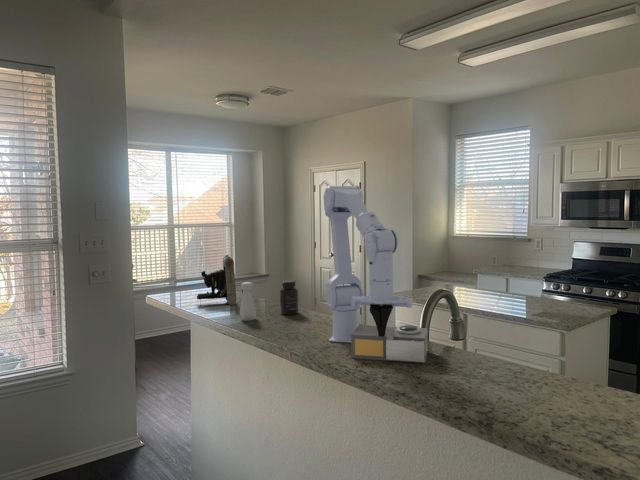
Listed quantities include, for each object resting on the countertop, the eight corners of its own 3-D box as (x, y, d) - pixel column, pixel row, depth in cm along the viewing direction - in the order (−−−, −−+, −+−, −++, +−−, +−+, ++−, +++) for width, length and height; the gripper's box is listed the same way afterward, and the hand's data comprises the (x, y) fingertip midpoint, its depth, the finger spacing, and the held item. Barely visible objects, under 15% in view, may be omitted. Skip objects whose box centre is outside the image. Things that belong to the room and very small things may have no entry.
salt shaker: (258, 320, 160) (257, 282, 159) (241, 322, 158) (240, 284, 157) (254, 316, 165) (253, 280, 165) (238, 318, 163) (237, 282, 163)
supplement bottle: (278, 312, 172) (277, 280, 171) (295, 310, 175) (294, 279, 174) (283, 316, 166) (282, 283, 165) (301, 314, 168) (300, 281, 167)
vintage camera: (197, 304, 193) (193, 257, 192) (234, 300, 198) (231, 254, 196) (198, 309, 184) (194, 260, 182) (237, 305, 189) (234, 256, 187)
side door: (386, 358, 113) (386, 326, 112) (424, 360, 110) (424, 328, 110) (386, 359, 112) (385, 327, 111) (424, 362, 109) (424, 329, 109)
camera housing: (359, 347, 125) (359, 321, 125) (427, 351, 120) (427, 324, 120) (351, 358, 115) (350, 330, 115) (425, 363, 110) (424, 334, 110)
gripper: (348, 281, 110) (349, 338, 110) (410, 282, 106) (410, 341, 106) (354, 277, 116) (355, 330, 117) (412, 278, 112) (413, 333, 113)
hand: (381, 335), depth 112 cm, fingers closed
